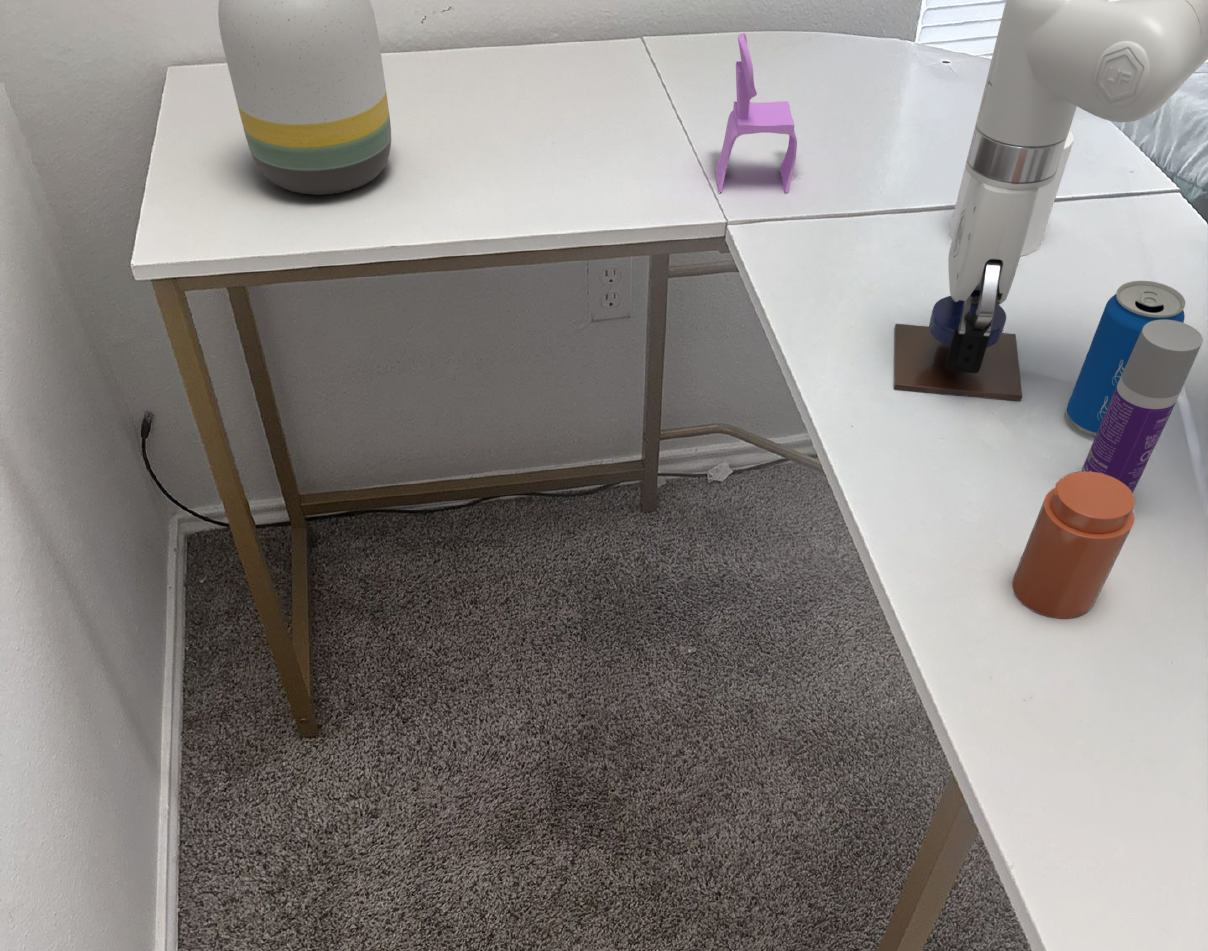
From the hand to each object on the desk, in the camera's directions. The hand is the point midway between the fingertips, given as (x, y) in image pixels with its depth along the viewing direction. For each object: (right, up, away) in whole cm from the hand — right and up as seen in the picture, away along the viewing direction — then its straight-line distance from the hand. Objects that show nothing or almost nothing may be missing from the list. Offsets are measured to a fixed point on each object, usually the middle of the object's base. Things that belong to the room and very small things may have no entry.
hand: (960, 347), depth 106 cm
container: (+9, -18, -11) cm, 23 cm away
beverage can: (+11, -9, -4) cm, 15 cm away
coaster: (0, -1, +1) cm, 2 cm away
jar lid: (0, +2, -2) cm, 3 cm away
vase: (-68, +31, +26) cm, 80 cm away
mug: (+9, +19, +16) cm, 27 cm away
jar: (+2, -27, -18) cm, 33 cm away
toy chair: (-17, +30, +25) cm, 43 cm away
